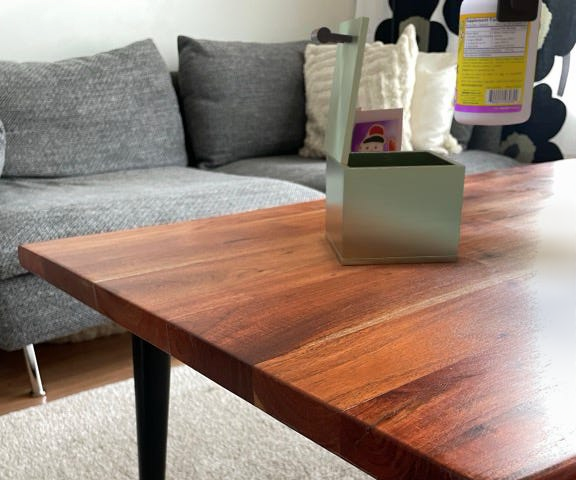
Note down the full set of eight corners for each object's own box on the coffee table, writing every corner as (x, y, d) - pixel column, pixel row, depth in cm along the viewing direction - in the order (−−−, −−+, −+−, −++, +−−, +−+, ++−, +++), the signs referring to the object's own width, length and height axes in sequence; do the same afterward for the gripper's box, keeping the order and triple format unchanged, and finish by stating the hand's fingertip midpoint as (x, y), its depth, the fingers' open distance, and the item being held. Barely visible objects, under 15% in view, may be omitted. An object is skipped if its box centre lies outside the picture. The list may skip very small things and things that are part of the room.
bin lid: (346, 23, 86) (308, 17, 85) (369, 17, 72) (324, 11, 72) (329, 148, 91) (293, 144, 91) (347, 164, 78) (305, 159, 78)
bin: (425, 233, 97) (431, 150, 92) (457, 261, 84) (466, 166, 79) (325, 236, 96) (326, 152, 92) (341, 265, 83) (343, 168, 78)
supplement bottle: (479, 118, 69) (492, -37, 63) (543, 121, 64) (563, -45, 59) (437, 123, 65) (447, -42, 59) (503, 127, 60) (520, -51, 55)
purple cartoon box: (347, 223, 103) (350, 112, 97) (313, 216, 108) (314, 109, 102) (402, 213, 110) (407, 108, 103) (367, 206, 115) (370, 105, 109)
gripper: (633, -295, 46) (590, 18, 54) (527, -208, 62) (505, 25, 69) (519, -296, 45) (492, 20, 53) (441, -208, 61) (429, 27, 69)
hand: (499, 21), depth 61 cm, fingers closed on supplement bottle, 6 cm apart
